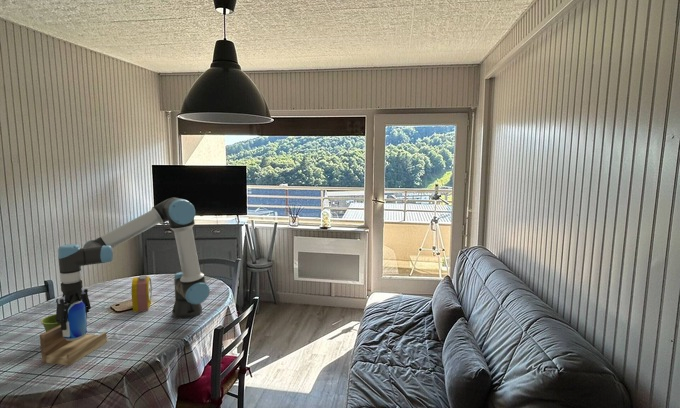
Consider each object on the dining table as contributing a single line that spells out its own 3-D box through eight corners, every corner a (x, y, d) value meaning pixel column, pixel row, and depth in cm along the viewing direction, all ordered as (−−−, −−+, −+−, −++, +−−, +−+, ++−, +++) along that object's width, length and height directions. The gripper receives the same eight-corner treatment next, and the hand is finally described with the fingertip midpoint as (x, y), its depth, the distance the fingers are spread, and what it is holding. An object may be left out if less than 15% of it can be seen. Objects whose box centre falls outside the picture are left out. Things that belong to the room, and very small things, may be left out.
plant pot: (39, 349, 167) (37, 325, 166) (47, 338, 178) (45, 315, 177) (71, 344, 172) (69, 320, 171) (77, 333, 183) (75, 311, 181)
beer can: (75, 342, 160) (72, 306, 158) (58, 340, 161) (55, 304, 160) (91, 333, 168) (89, 298, 166) (75, 331, 170) (73, 297, 168)
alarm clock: (149, 311, 210) (147, 279, 208) (132, 313, 207) (130, 280, 205) (152, 301, 224) (150, 271, 222) (136, 303, 221) (135, 272, 219)
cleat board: (106, 342, 174) (105, 317, 173) (69, 365, 155) (67, 337, 153) (81, 339, 176) (80, 315, 175) (42, 362, 157) (39, 334, 155)
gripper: (83, 273, 173) (87, 320, 175) (40, 288, 152) (45, 342, 155) (98, 274, 172) (101, 322, 174) (57, 289, 151) (61, 344, 154)
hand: (75, 331), depth 165 cm, fingers closed on beer can, 8 cm apart
